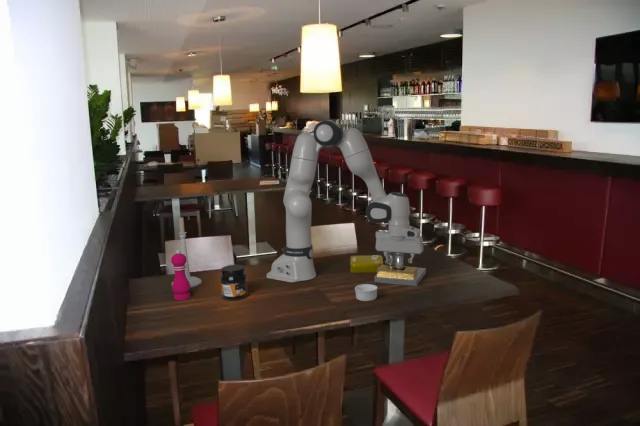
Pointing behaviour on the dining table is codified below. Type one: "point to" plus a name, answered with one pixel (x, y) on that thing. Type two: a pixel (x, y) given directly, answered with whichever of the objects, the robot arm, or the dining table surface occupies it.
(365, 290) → the ramekin
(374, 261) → the element tile
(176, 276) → the pepper mill
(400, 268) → the steel pin
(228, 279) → the supplement container
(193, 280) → the candlestick
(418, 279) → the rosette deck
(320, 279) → the dining table surface
